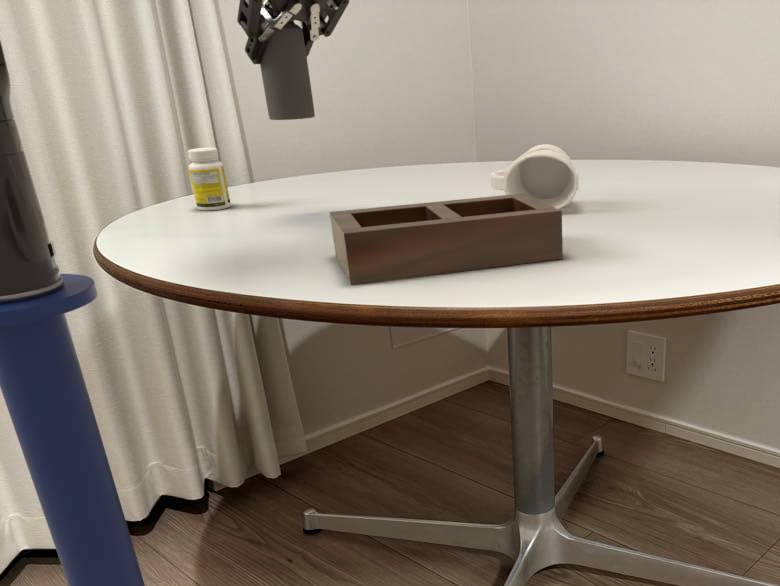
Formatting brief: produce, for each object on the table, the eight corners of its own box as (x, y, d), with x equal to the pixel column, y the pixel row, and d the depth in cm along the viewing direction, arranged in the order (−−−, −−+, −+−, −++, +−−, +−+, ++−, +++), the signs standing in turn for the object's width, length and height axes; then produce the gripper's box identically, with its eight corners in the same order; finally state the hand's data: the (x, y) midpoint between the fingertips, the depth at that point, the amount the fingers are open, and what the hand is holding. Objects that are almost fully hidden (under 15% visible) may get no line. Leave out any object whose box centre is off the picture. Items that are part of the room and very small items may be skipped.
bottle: (287, 116, 107) (268, -9, 101) (324, 116, 105) (306, -11, 99) (259, 120, 102) (237, -11, 96) (297, 119, 100) (277, -14, 94)
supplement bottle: (212, 204, 120) (200, 147, 117) (237, 205, 119) (226, 147, 116) (190, 210, 116) (177, 151, 113) (216, 211, 115) (204, 151, 111)
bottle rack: (563, 258, 83) (562, 210, 80) (350, 285, 76) (343, 233, 74) (525, 236, 93) (523, 193, 91) (335, 257, 86) (329, 211, 84)
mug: (579, 201, 113) (579, 142, 109) (578, 214, 104) (577, 151, 101) (496, 203, 113) (493, 145, 110) (488, 216, 105) (484, 153, 102)
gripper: (349, -77, 95) (306, 35, 107) (243, -89, 85) (208, 37, 97) (383, -31, 94) (336, 77, 106) (280, -37, 84) (240, 83, 96)
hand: (275, 58), depth 101 cm, fingers closed on bottle, 6 cm apart
